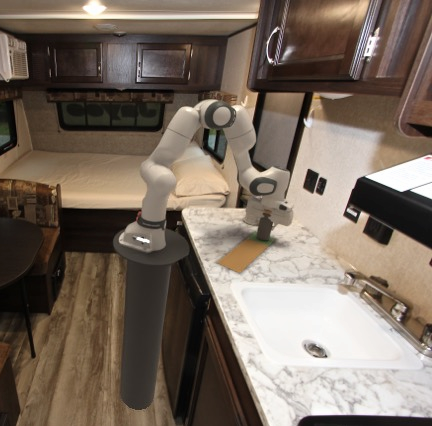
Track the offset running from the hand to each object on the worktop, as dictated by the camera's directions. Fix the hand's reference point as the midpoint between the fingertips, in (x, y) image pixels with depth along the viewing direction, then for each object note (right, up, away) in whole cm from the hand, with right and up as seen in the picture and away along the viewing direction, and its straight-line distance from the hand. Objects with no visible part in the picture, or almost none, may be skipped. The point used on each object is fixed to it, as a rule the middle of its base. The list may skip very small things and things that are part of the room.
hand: (264, 227), depth 140 cm
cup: (+4, +2, +20) cm, 20 cm away
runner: (-15, -11, -11) cm, 21 cm away
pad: (0, -6, +3) cm, 6 cm away
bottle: (0, -5, +2) cm, 6 cm away
